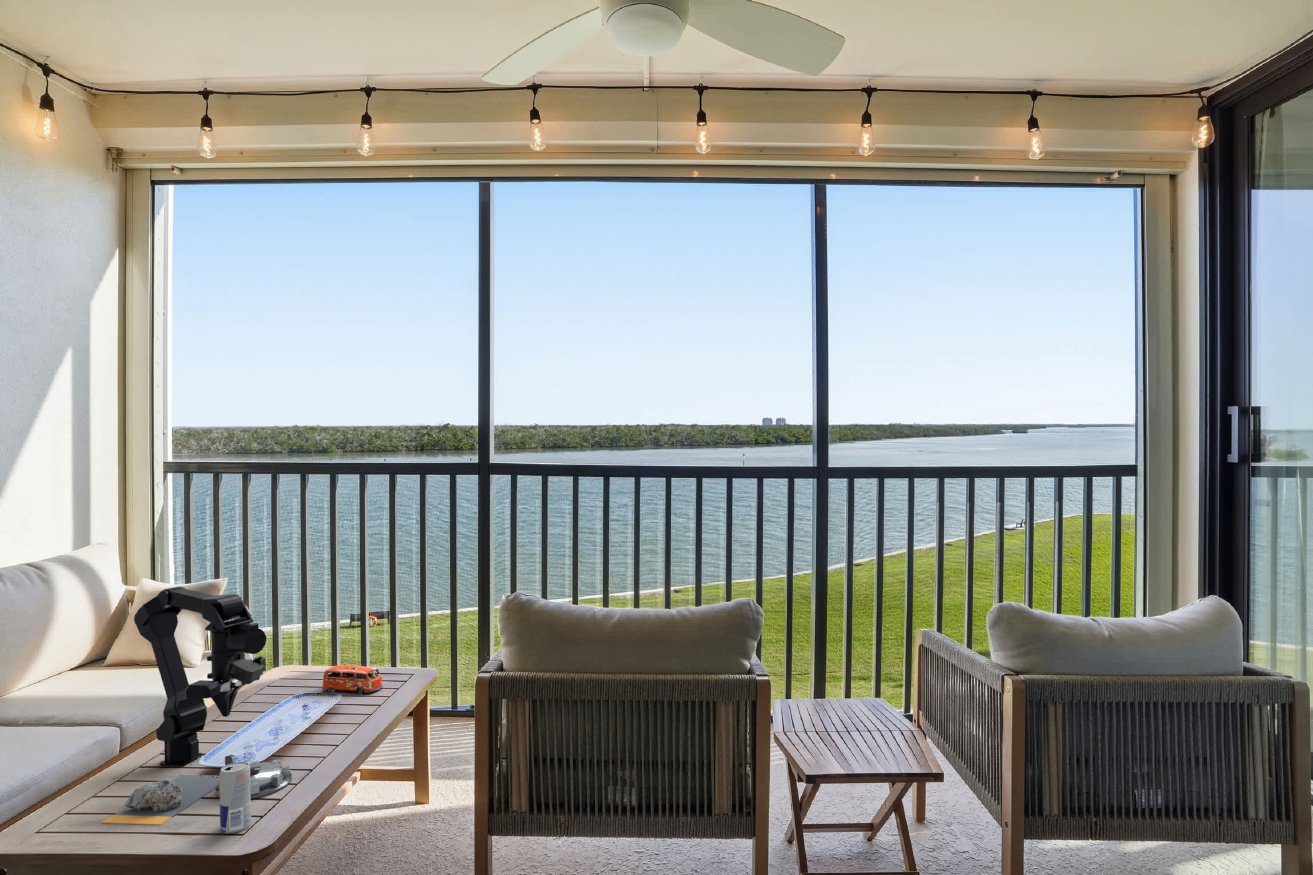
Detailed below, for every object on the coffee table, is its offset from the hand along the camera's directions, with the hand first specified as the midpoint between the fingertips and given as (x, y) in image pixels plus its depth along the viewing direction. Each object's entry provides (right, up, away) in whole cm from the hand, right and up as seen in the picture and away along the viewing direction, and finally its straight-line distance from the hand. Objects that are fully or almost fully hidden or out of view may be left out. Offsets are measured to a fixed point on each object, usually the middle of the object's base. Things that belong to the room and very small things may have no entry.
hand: (226, 716), depth 176 cm
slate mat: (-4, -13, -14) cm, 19 cm away
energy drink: (+17, -12, -27) cm, 34 cm away
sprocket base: (+11, -12, -8) cm, 19 cm away
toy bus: (+6, -14, +58) cm, 60 cm away
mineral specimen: (-4, -13, -18) cm, 22 cm away
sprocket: (+11, -12, -8) cm, 19 cm away
